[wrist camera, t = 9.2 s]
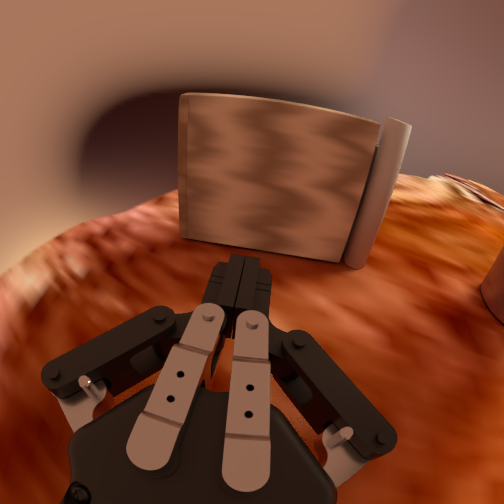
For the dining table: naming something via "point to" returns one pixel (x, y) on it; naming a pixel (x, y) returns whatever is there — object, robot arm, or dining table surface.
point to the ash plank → (271, 173)
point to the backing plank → (377, 191)
